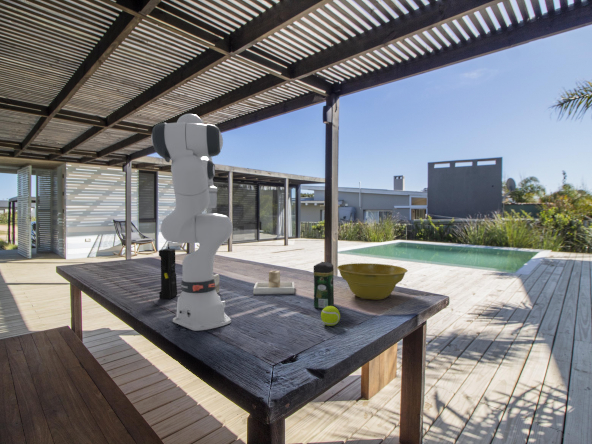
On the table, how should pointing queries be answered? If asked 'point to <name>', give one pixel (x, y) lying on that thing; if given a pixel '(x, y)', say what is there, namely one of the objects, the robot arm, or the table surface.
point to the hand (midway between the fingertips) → (204, 218)
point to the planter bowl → (371, 279)
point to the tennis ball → (330, 315)
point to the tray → (283, 289)
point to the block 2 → (274, 279)
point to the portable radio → (168, 274)
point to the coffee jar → (323, 285)
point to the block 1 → (216, 282)
